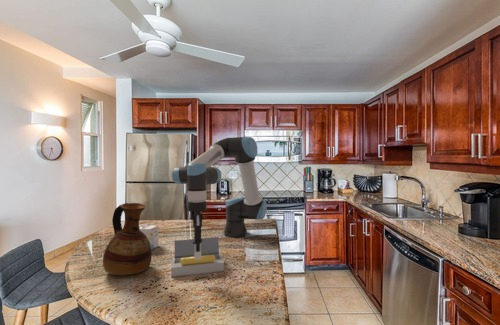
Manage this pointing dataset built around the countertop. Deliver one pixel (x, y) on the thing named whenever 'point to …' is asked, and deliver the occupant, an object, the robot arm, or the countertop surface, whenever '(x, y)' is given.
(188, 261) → the yellow pill capsule
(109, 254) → the ceramic pitcher
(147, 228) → the ink box
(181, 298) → the countertop surface
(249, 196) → the robot arm
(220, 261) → the open grey pill case
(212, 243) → the cover
